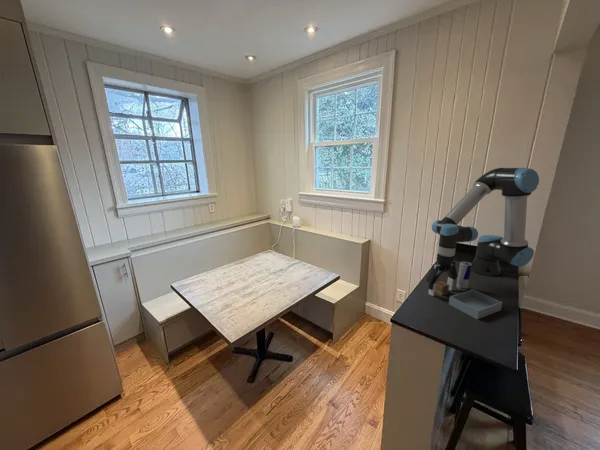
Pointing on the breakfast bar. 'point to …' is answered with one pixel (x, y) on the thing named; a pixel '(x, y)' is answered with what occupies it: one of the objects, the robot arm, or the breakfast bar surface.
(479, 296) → the tote
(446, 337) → the breakfast bar surface
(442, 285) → the walnut cube
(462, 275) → the beverage can
